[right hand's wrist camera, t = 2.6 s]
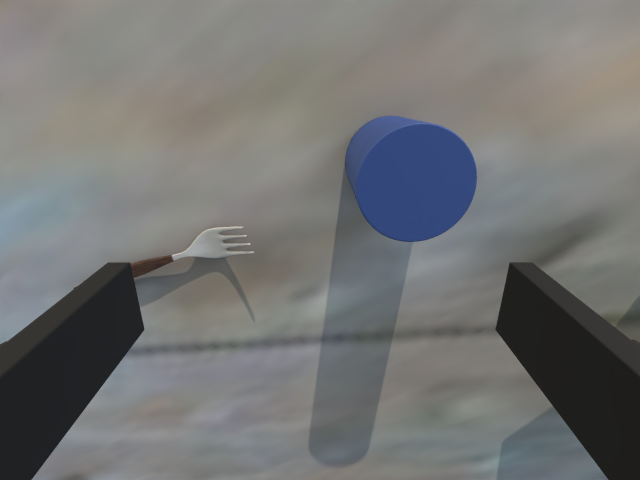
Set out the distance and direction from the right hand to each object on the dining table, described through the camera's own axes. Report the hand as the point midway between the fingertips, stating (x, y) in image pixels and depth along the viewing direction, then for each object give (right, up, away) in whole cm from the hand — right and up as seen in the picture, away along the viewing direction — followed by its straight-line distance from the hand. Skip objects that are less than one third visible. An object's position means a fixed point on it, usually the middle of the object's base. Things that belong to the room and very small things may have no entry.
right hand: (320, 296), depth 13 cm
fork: (-13, 0, +17) cm, 22 cm away
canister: (+5, +8, +14) cm, 17 cm away
